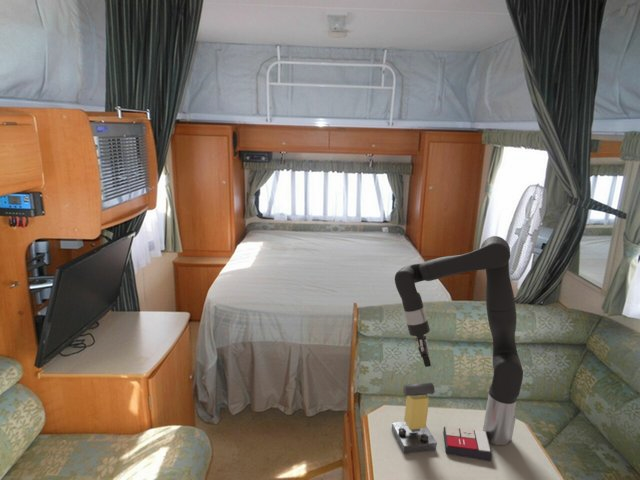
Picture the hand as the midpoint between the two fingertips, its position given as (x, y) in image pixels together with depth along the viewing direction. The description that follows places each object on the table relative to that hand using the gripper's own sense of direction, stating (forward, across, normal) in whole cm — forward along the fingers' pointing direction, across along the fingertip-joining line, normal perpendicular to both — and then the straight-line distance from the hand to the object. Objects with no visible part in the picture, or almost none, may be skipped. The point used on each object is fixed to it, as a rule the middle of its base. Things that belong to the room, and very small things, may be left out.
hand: (427, 365), depth 156 cm
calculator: (+30, -5, -6) cm, 31 cm away
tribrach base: (+23, -7, +11) cm, 27 cm away
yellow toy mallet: (+19, -8, +9) cm, 23 cm away
